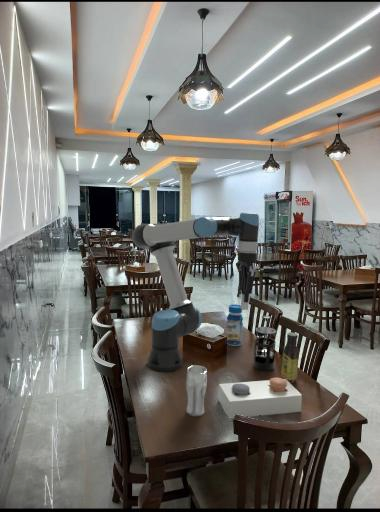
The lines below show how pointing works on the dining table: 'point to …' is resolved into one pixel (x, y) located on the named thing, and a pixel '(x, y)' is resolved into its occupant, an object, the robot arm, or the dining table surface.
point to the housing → (259, 399)
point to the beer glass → (196, 389)
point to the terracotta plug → (278, 384)
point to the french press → (261, 353)
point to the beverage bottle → (234, 325)
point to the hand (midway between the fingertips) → (244, 309)
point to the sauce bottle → (290, 358)
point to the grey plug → (240, 389)
